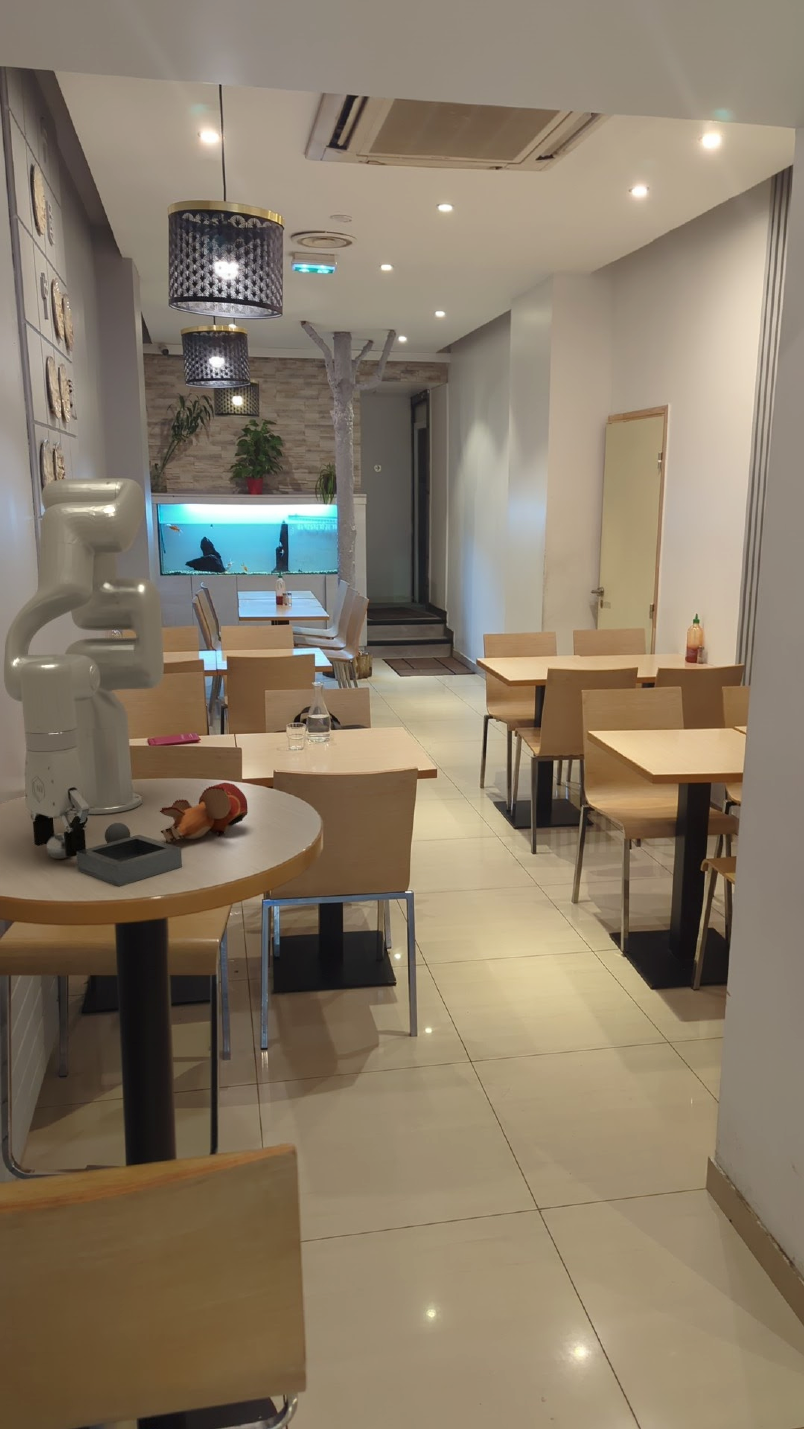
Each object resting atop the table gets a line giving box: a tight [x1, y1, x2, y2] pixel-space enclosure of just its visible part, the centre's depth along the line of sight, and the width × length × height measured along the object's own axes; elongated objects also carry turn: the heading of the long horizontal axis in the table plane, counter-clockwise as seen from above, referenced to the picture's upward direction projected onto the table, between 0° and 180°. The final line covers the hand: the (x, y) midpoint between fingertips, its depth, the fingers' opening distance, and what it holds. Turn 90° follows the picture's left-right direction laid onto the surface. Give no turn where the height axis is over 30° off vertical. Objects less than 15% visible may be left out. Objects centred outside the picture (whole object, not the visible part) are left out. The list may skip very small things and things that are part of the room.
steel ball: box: [46, 832, 67, 860], centre depth 153 cm, size 4×4×4 cm
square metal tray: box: [76, 834, 183, 887], centre depth 147 cm, size 11×11×3 cm
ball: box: [104, 822, 131, 843], centre depth 158 cm, size 4×4×4 cm
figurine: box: [159, 782, 249, 844], centre depth 163 cm, size 20×9×15 cm
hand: (60, 849), depth 153 cm, fingers open, 8 cm apart
